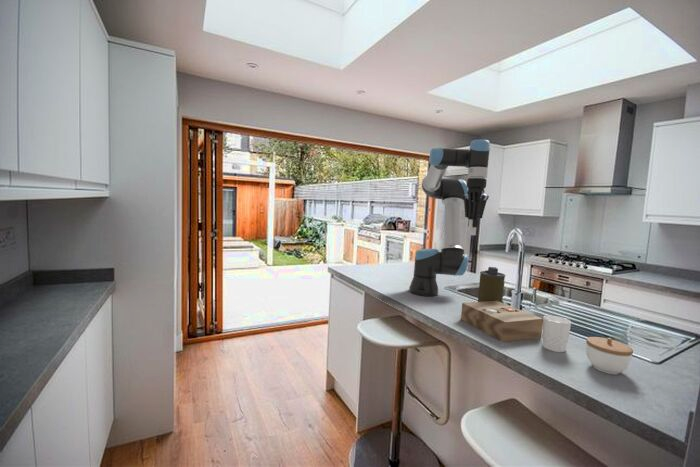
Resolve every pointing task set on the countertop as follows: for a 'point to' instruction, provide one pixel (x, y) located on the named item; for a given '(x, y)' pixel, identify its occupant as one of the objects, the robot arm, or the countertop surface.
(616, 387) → the countertop surface
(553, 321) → the white cup
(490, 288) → the canister
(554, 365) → the countertop surface
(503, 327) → the walnut block
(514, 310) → the terracotta plug
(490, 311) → the white glossy ovoid
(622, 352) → the lidded jar
